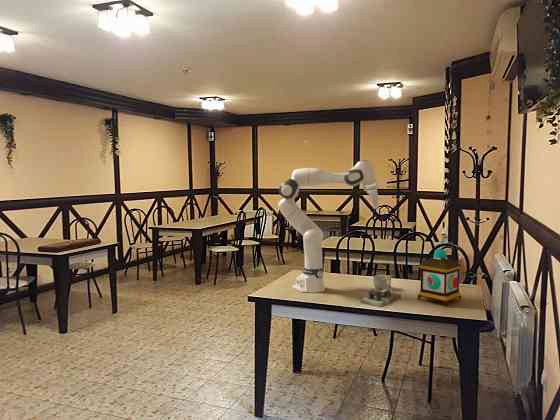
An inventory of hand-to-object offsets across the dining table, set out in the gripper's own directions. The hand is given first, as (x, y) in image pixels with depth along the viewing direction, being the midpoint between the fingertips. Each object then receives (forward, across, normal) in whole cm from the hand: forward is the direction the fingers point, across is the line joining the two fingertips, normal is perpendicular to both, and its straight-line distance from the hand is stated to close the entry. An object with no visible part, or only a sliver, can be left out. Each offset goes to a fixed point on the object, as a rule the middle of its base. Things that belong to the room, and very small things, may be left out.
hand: (376, 208), depth 255 cm
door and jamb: (+50, +12, -12) cm, 53 cm away
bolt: (+48, +8, -9) cm, 50 cm away
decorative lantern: (+60, +9, +19) cm, 63 cm away
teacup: (+50, -15, -10) cm, 53 cm away
